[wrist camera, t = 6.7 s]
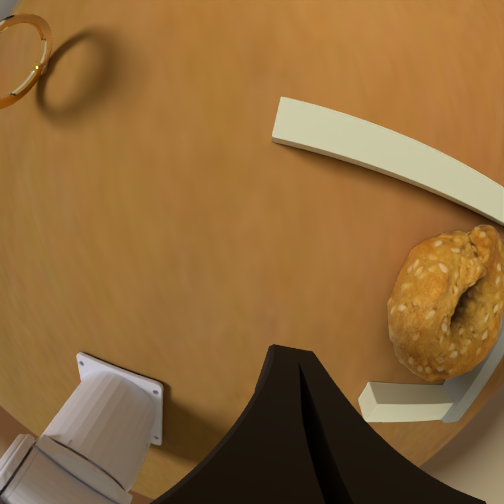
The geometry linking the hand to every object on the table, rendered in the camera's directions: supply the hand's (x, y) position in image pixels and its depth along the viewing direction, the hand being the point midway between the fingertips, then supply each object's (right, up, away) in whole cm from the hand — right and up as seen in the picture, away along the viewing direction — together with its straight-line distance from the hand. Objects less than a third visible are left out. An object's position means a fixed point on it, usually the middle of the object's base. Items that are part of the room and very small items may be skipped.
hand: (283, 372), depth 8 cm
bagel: (+12, +1, +8) cm, 15 cm away
